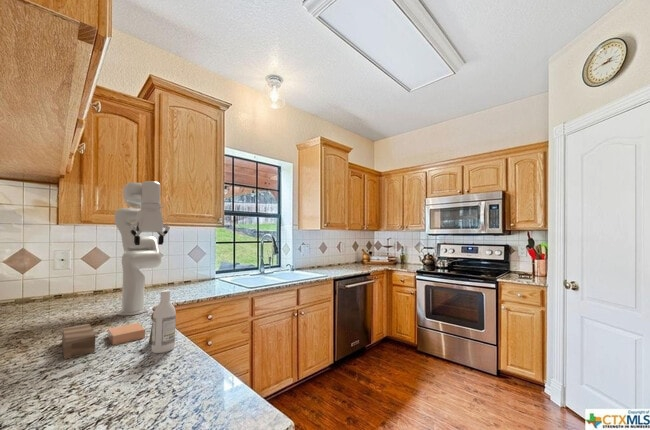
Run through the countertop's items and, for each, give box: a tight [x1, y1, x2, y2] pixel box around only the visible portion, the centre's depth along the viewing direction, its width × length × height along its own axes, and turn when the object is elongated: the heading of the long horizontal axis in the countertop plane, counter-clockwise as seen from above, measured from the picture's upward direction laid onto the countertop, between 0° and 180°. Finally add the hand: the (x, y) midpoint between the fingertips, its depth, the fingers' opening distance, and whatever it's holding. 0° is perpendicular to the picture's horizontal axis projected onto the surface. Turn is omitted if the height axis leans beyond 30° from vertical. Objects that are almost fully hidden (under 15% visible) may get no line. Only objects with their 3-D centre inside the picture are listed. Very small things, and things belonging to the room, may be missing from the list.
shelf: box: [61, 323, 96, 359], centre depth 99 cm, size 19×8×5 cm, turn 45°
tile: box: [107, 322, 146, 346], centre depth 109 cm, size 12×10×4 cm
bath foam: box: [151, 289, 177, 354], centre depth 97 cm, size 7×7×20 cm
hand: (149, 244), depth 128 cm, fingers open, 9 cm apart
